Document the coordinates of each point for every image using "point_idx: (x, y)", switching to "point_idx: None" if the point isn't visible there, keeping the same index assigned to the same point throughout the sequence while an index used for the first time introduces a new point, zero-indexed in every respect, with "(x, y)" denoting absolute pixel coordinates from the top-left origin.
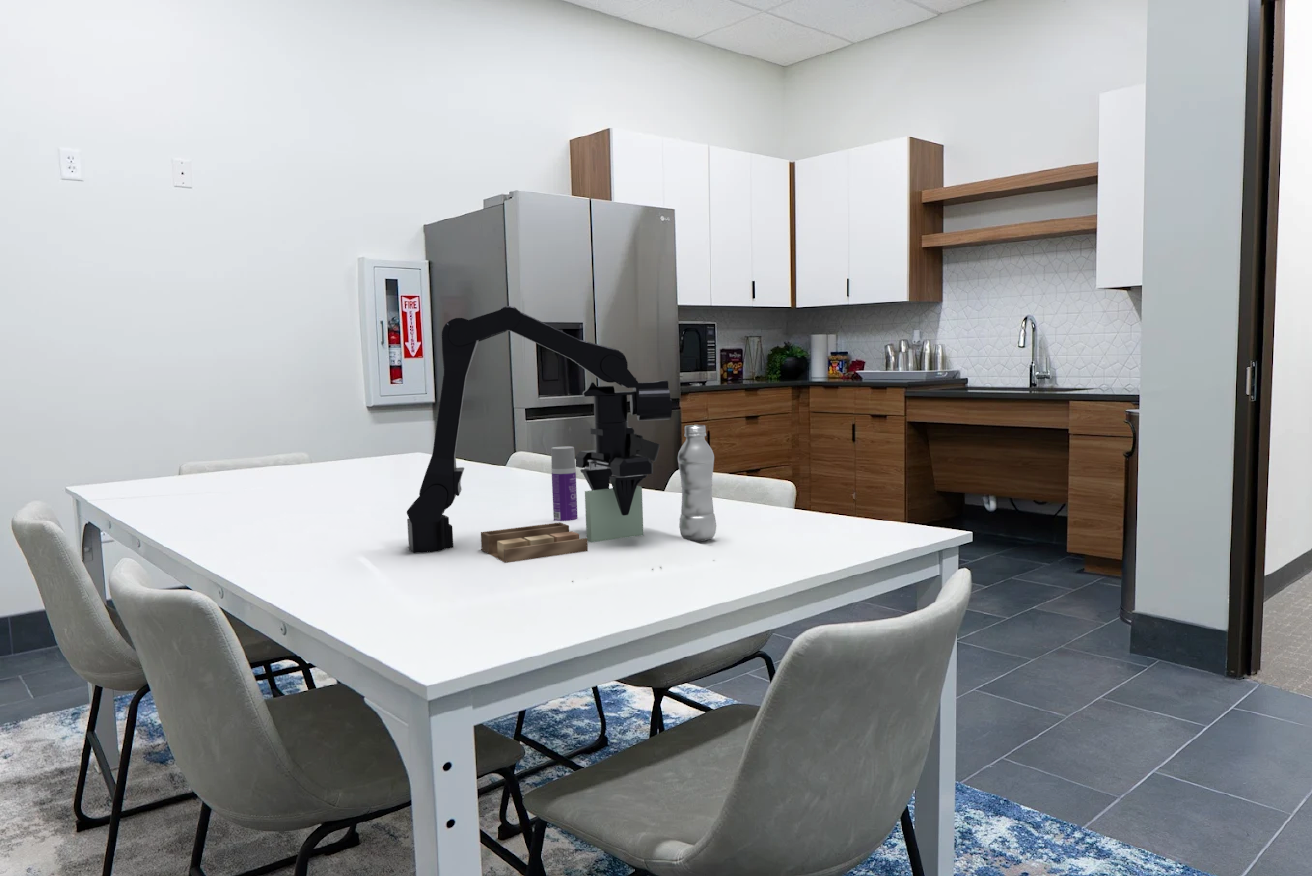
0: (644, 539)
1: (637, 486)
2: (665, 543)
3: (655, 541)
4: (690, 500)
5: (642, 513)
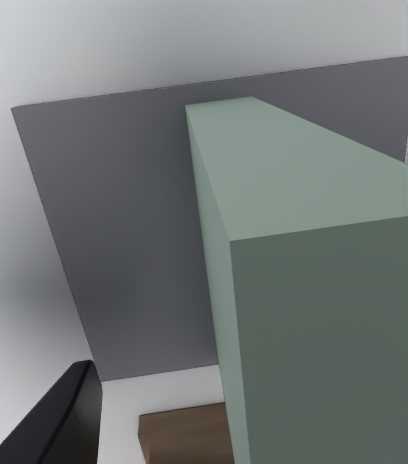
0: (216, 75)
1: (370, 264)
2: (390, 5)
3: (304, 37)
4: None
5: (295, 118)
